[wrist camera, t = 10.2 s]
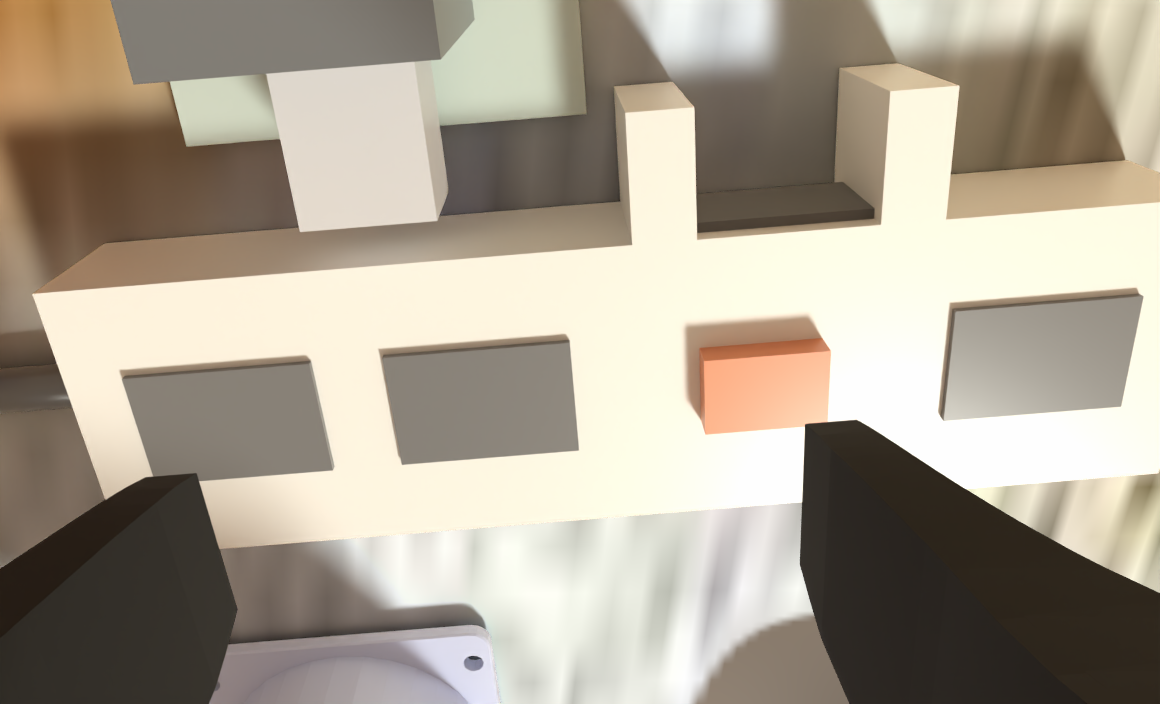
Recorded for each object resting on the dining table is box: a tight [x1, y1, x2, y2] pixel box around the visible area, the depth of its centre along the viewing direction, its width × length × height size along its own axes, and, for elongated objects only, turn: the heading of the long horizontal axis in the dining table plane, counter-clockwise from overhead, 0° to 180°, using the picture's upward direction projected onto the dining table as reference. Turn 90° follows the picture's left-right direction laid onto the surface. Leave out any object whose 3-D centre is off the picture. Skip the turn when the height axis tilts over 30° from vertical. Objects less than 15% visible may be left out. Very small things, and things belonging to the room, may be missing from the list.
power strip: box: [0, 63, 1160, 549], centre depth 18 cm, size 8×28×4 cm, turn 94°
